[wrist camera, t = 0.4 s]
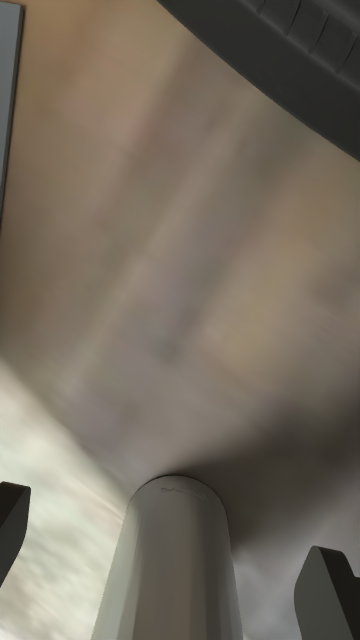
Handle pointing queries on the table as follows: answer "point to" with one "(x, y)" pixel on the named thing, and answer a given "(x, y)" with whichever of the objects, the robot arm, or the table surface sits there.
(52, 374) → the table surface
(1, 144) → the mat
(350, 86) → the magazine
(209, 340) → the table surface
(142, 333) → the table surface
